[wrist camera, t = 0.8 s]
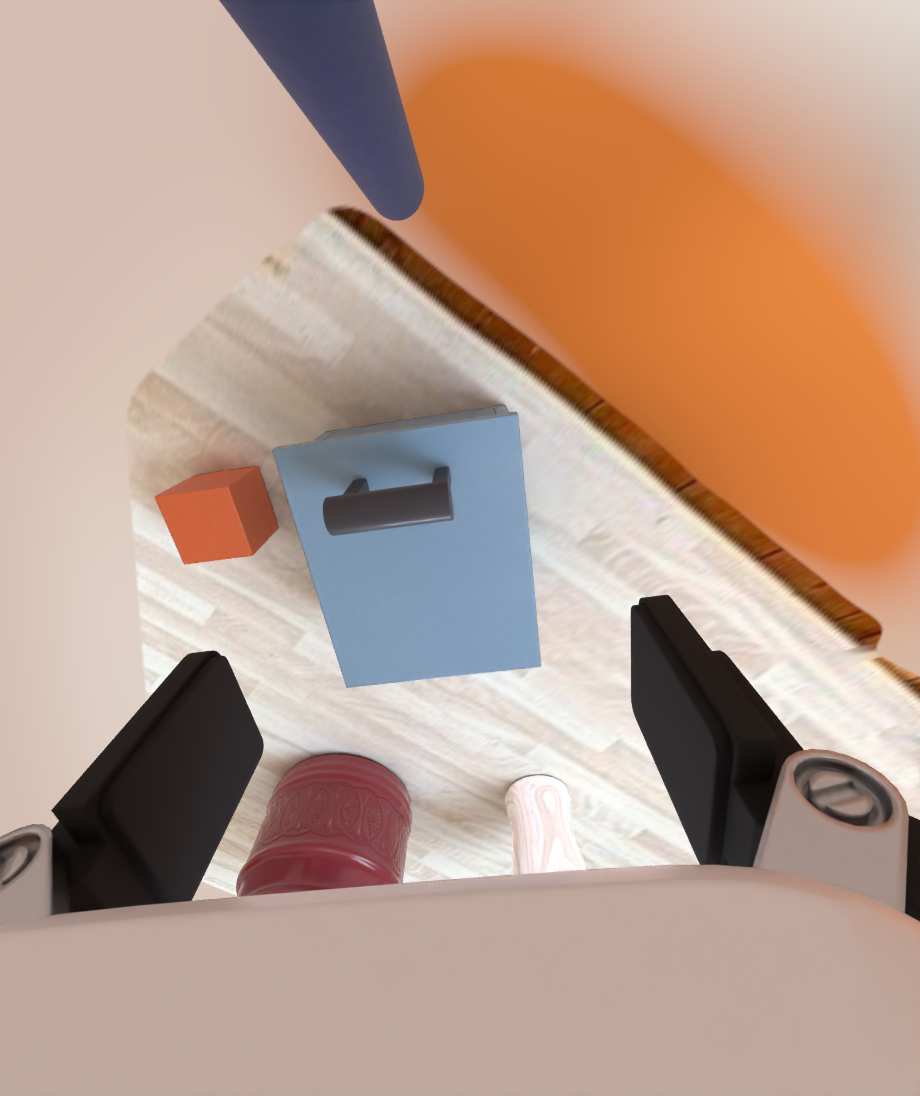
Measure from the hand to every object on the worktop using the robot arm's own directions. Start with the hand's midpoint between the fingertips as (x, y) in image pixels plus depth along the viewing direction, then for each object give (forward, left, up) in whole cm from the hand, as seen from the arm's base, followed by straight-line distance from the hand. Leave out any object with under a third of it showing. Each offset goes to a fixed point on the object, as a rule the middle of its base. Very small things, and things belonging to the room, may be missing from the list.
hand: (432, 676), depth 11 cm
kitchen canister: (+31, -15, -22) cm, 41 cm away
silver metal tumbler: (+33, +3, -22) cm, 40 cm away
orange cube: (+1, -15, -22) cm, 27 cm away
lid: (+4, -2, -14) cm, 15 cm away
